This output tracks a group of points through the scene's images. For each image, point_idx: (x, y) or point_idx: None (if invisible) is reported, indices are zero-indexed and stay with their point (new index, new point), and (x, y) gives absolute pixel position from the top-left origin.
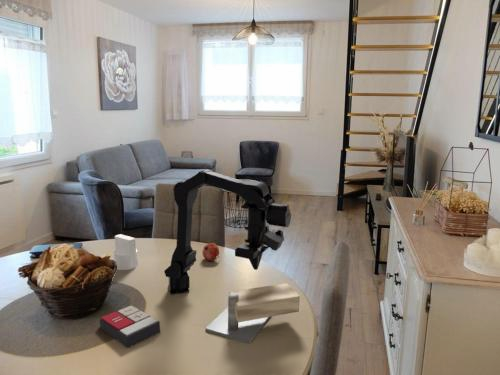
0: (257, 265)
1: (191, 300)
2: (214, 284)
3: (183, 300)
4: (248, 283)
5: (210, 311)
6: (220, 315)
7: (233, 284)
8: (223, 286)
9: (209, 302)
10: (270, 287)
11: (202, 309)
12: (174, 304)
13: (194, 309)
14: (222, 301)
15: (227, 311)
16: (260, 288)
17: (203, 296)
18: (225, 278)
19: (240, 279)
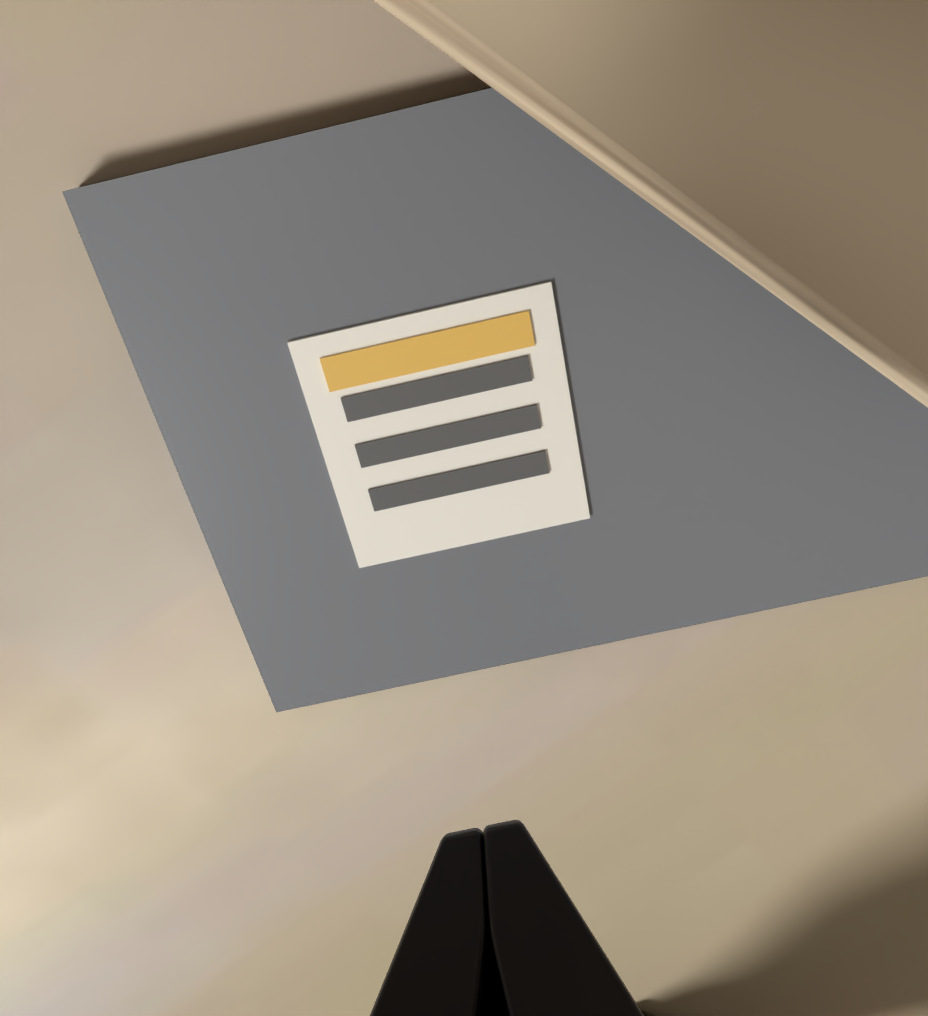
0: (567, 939)
1: (739, 915)
2: (356, 972)
3: (776, 951)
4: (59, 795)
5: (828, 696)
6: (913, 566)
7: (212, 874)
8: (324, 905)
9: (680, 803)
10: (727, 57)
11: (832, 765)
12: (872, 951)
13: (867, 809)
14: (587, 738)
15: (798, 565)
16: (914, 263)
17: (615, 899)
18: (178, 984)
19: (65, 894)
